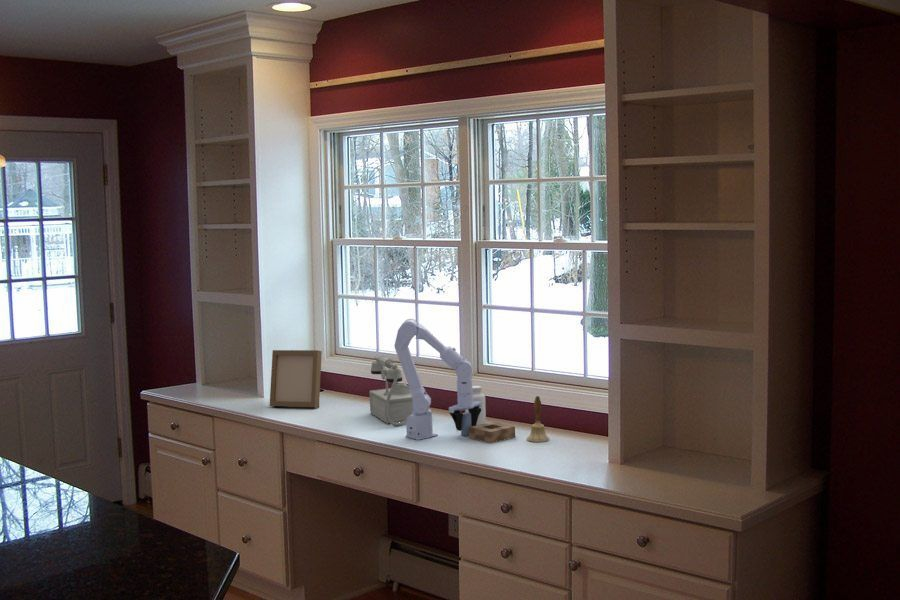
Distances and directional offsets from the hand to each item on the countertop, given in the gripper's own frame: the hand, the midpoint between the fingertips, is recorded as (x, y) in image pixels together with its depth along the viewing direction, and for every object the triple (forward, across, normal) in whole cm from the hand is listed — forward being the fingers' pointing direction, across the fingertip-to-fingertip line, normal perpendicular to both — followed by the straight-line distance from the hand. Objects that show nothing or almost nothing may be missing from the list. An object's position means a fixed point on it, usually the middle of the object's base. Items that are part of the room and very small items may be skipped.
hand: (466, 428), depth 366 cm
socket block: (+2, +4, -10) cm, 11 cm away
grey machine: (+3, 0, +44) cm, 44 cm away
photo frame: (+3, -14, +99) cm, 100 cm away
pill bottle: (+3, +14, +11) cm, 18 cm away
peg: (+2, 0, 0) cm, 2 cm away
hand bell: (+3, +13, -25) cm, 28 cm away
